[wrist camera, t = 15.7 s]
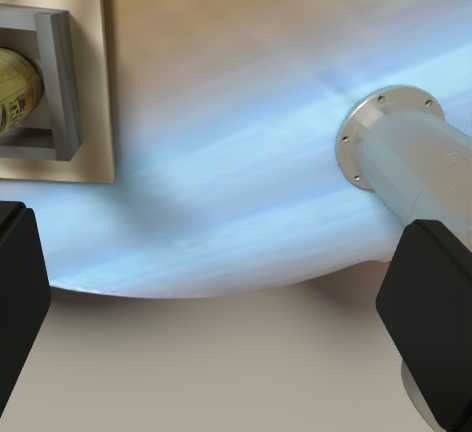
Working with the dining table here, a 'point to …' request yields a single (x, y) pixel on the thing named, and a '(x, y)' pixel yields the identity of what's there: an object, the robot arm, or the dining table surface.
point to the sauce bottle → (17, 88)
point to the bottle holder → (61, 92)
